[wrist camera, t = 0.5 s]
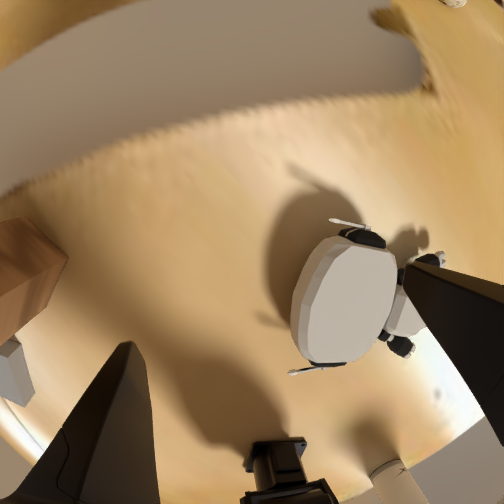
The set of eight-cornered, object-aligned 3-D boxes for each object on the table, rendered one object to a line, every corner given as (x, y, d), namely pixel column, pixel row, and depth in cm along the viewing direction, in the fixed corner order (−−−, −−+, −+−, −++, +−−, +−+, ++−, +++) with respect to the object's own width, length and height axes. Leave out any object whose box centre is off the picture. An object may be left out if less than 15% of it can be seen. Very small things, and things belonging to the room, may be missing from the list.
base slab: (35, 392, 22) (24, 407, 20) (-4, 375, 21) (-15, 387, 18) (21, 344, 21) (7, 357, 18) (-18, 328, 20) (-32, 339, 17)
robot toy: (430, 241, 25) (302, 209, 22) (461, 252, 21) (328, 216, 17) (395, 348, 27) (268, 350, 24) (419, 369, 23) (283, 381, 20)
